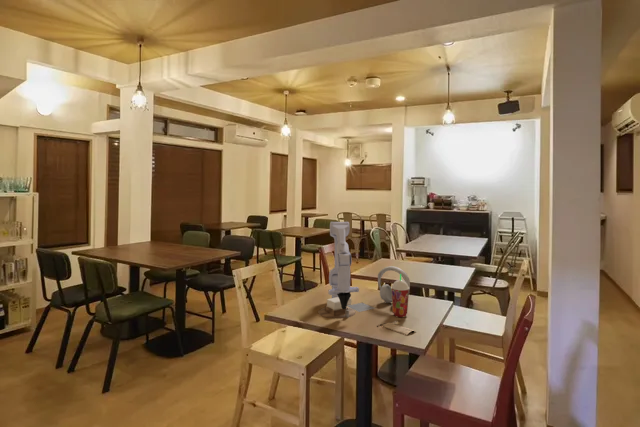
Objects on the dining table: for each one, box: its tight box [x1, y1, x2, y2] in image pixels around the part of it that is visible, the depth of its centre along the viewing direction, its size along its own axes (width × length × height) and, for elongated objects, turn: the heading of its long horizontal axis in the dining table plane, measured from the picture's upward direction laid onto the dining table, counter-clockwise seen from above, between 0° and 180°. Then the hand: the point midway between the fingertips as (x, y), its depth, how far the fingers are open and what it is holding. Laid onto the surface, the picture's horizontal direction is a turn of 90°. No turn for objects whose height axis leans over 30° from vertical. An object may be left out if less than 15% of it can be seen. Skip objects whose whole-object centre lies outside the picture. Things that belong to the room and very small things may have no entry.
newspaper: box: [378, 321, 415, 336], centre depth 171 cm, size 24×7×2 cm, turn 40°
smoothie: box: [391, 274, 410, 318], centre depth 184 cm, size 8×8×20 cm
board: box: [347, 302, 376, 313], centre depth 189 cm, size 30×20×1 cm, turn 121°
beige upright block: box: [326, 297, 352, 310], centre depth 188 cm, size 12×6×6 cm, turn 124°
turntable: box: [318, 305, 357, 320], centre depth 186 cm, size 18×18×4 cm
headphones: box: [377, 265, 411, 304], centre depth 202 cm, size 18×8×20 cm, turn 50°
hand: (343, 308), depth 178 cm, fingers closed
